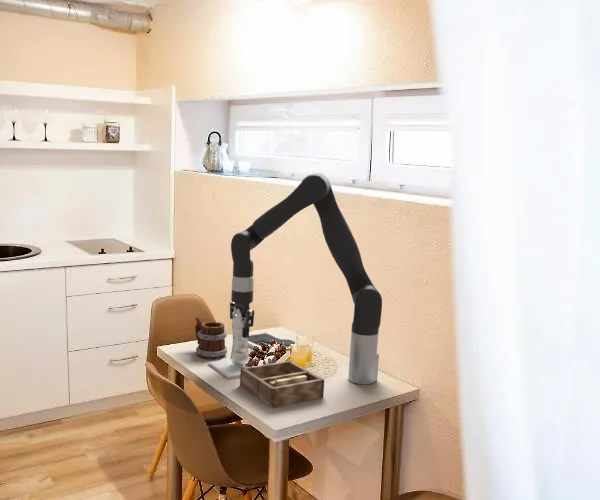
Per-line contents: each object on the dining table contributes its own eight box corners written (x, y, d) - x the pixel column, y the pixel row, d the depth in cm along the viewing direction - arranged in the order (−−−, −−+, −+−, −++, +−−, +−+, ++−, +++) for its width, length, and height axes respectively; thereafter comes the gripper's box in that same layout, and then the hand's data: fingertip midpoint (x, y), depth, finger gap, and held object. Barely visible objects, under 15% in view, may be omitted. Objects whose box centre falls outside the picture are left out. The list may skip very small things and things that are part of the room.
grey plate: (248, 358, 240) (248, 356, 240) (270, 372, 227) (270, 369, 227) (208, 364, 231) (208, 362, 231) (229, 379, 218) (229, 376, 218)
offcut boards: (304, 391, 211) (305, 372, 210) (312, 397, 207) (313, 377, 206) (267, 398, 203) (268, 379, 202) (275, 404, 199) (276, 384, 198)
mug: (211, 362, 233) (208, 321, 233) (186, 359, 243) (183, 319, 242) (235, 355, 242) (231, 315, 242) (210, 352, 252) (207, 314, 251)
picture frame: (297, 349, 256) (266, 336, 272) (297, 342, 256) (266, 330, 272) (264, 355, 247) (234, 341, 262) (265, 348, 246) (235, 335, 262)
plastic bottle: (237, 368, 224) (239, 312, 221) (226, 363, 229) (228, 308, 226) (252, 365, 229) (254, 310, 225) (241, 359, 234) (243, 305, 230)
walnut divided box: (289, 377, 223) (290, 360, 222) (323, 397, 206) (324, 379, 205) (239, 385, 213) (240, 368, 212) (271, 408, 196) (272, 389, 195)
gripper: (262, 292, 221) (260, 339, 223) (242, 283, 233) (240, 328, 235) (242, 293, 217) (241, 341, 219) (223, 285, 229) (222, 330, 231)
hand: (240, 334), depth 227 cm, fingers closed on plastic bottle, 6 cm apart
